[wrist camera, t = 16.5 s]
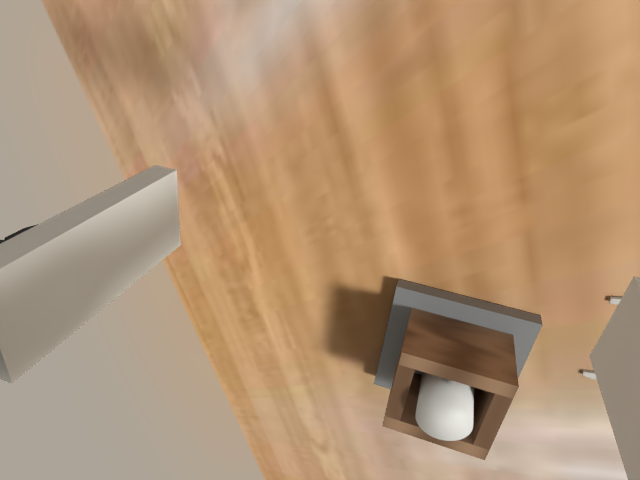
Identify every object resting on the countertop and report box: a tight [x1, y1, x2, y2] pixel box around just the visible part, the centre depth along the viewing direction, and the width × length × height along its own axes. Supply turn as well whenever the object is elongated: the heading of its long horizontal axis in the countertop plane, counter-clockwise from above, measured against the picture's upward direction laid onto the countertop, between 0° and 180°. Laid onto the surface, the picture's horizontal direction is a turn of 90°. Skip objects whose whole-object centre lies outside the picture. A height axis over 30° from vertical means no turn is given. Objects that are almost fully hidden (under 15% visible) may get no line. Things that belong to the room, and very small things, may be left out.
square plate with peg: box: [374, 279, 542, 441], centre depth 44 cm, size 14×14×10 cm
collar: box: [383, 308, 519, 460], centre depth 44 cm, size 10×10×7 cm
